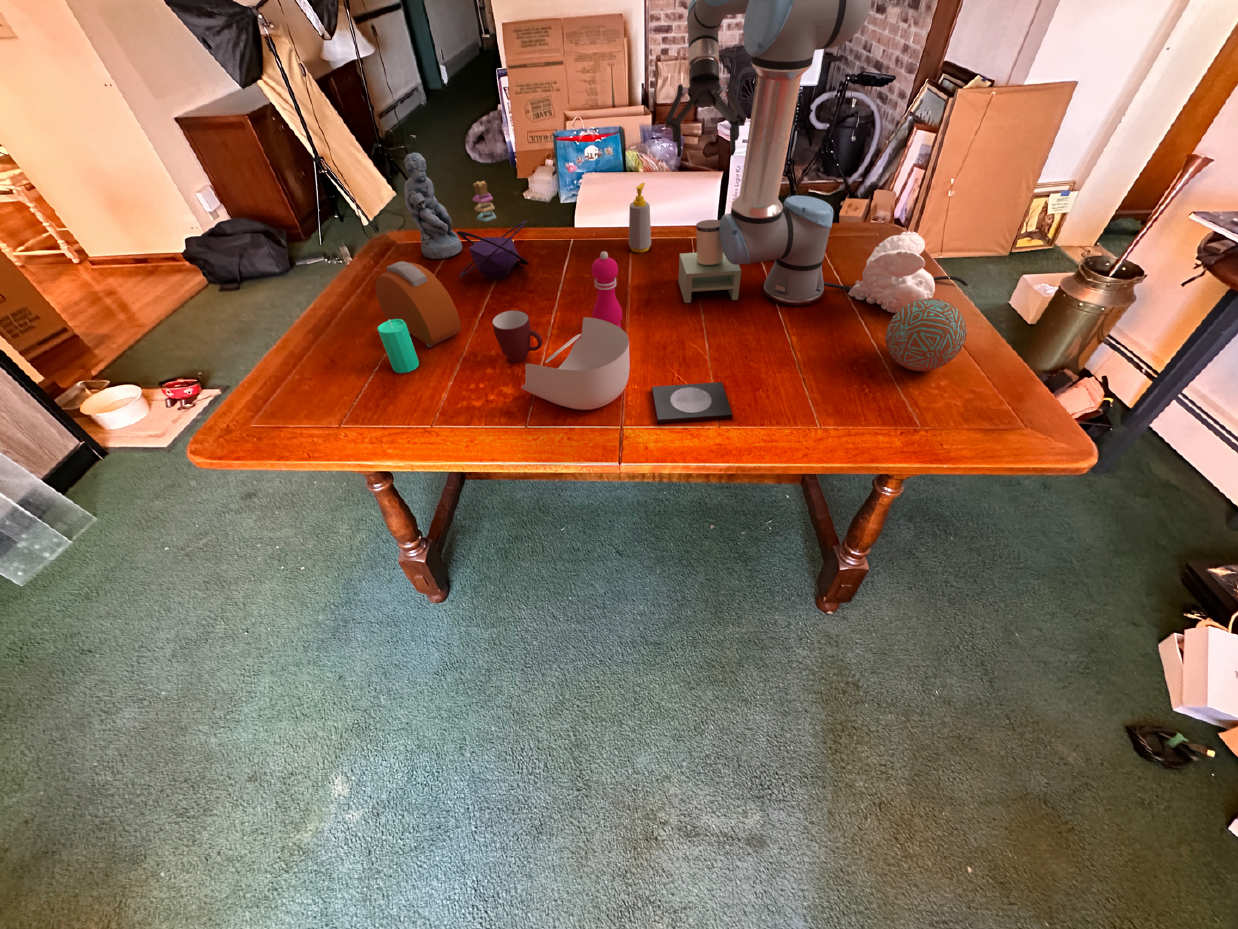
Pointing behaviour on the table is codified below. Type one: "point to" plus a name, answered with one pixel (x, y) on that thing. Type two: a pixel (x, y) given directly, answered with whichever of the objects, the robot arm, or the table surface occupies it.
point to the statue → (428, 212)
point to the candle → (398, 345)
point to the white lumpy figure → (895, 274)
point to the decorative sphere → (926, 334)
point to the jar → (709, 242)
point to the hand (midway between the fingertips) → (706, 153)
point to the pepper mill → (606, 290)
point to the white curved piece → (585, 369)
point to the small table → (707, 276)
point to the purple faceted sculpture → (491, 242)
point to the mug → (515, 335)
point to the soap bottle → (639, 223)
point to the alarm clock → (417, 302)
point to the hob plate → (691, 403)
